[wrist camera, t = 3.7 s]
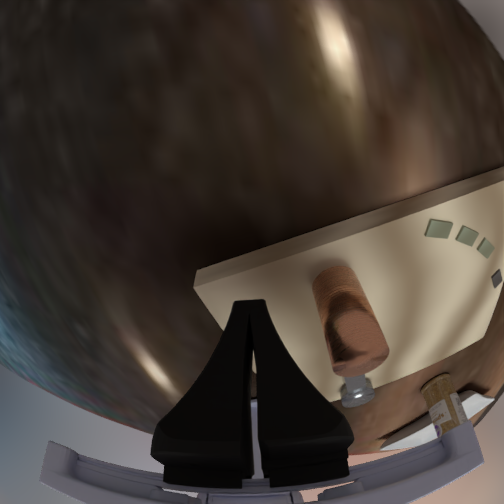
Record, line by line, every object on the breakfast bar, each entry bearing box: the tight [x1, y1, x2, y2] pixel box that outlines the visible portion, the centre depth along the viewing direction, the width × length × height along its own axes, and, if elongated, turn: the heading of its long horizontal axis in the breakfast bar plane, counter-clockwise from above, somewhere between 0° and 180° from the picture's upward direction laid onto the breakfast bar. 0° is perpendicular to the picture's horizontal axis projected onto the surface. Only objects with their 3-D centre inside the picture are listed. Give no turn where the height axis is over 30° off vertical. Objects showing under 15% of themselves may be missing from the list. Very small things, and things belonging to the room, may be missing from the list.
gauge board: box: [193, 167, 504, 402], centre depth 18 cm, size 22×18×2 cm
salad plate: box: [380, 390, 494, 450], centre depth 37 cm, size 21×21×3 cm
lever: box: [312, 266, 390, 407], centre depth 16 cm, size 3×17×5 cm, turn 21°
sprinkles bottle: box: [421, 374, 468, 438], centre depth 22 cm, size 5×5×13 cm
